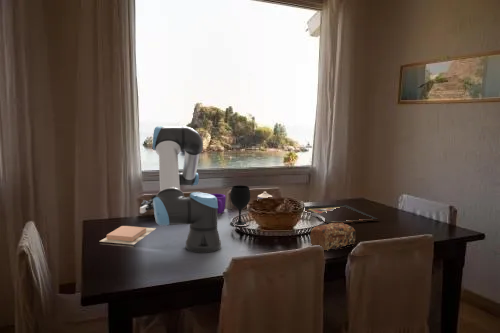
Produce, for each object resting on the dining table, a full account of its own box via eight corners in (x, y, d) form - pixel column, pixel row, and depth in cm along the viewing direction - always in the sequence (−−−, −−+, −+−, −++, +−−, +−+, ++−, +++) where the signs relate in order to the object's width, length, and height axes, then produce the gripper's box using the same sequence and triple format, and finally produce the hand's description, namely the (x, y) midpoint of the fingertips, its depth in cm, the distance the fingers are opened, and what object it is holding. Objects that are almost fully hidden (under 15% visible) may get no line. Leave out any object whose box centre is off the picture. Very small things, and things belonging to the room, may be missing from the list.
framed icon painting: (295, 210, 235) (295, 206, 235) (341, 206, 250) (341, 202, 249) (332, 228, 201) (333, 223, 200) (383, 222, 216) (384, 217, 215)
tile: (122, 225, 180) (106, 234, 167) (146, 227, 179) (132, 236, 165) (122, 230, 181) (106, 239, 167) (146, 232, 179) (132, 242, 165)
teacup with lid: (274, 212, 227) (274, 193, 226) (259, 213, 225) (260, 193, 223) (267, 207, 239) (268, 189, 237) (253, 208, 236) (254, 189, 235)
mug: (203, 210, 228) (203, 193, 226) (221, 209, 232) (222, 192, 231) (212, 217, 212) (212, 200, 210) (231, 216, 216) (231, 199, 215)
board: (125, 228, 188) (125, 225, 188) (156, 230, 186) (156, 228, 186) (99, 244, 165) (99, 241, 165) (134, 247, 163) (134, 244, 162)
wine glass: (226, 225, 198) (227, 187, 195) (234, 220, 207) (235, 184, 205) (244, 228, 194) (245, 189, 191) (252, 223, 204) (253, 186, 201)
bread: (324, 252, 162) (325, 230, 161) (308, 245, 172) (309, 223, 170) (356, 246, 172) (357, 224, 171) (339, 239, 181) (340, 218, 180)
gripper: (171, 207, 210) (154, 218, 187) (148, 206, 212) (128, 217, 188) (171, 194, 209) (153, 203, 186) (148, 192, 211) (128, 202, 187)
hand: (141, 210), depth 187 cm, fingers closed
